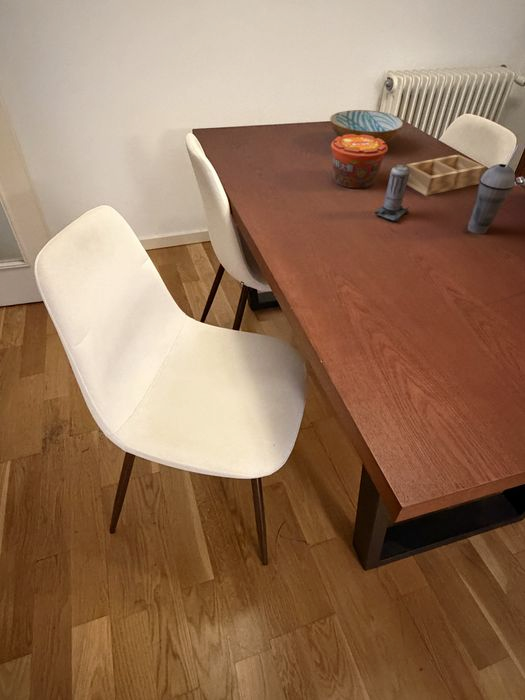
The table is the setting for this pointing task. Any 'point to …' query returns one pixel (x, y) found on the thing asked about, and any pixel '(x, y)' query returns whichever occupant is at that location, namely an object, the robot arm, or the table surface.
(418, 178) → the wooden divided box
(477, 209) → the beverage cup
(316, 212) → the table surface
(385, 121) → the bowl
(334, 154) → the food container
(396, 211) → the grey column figurine
